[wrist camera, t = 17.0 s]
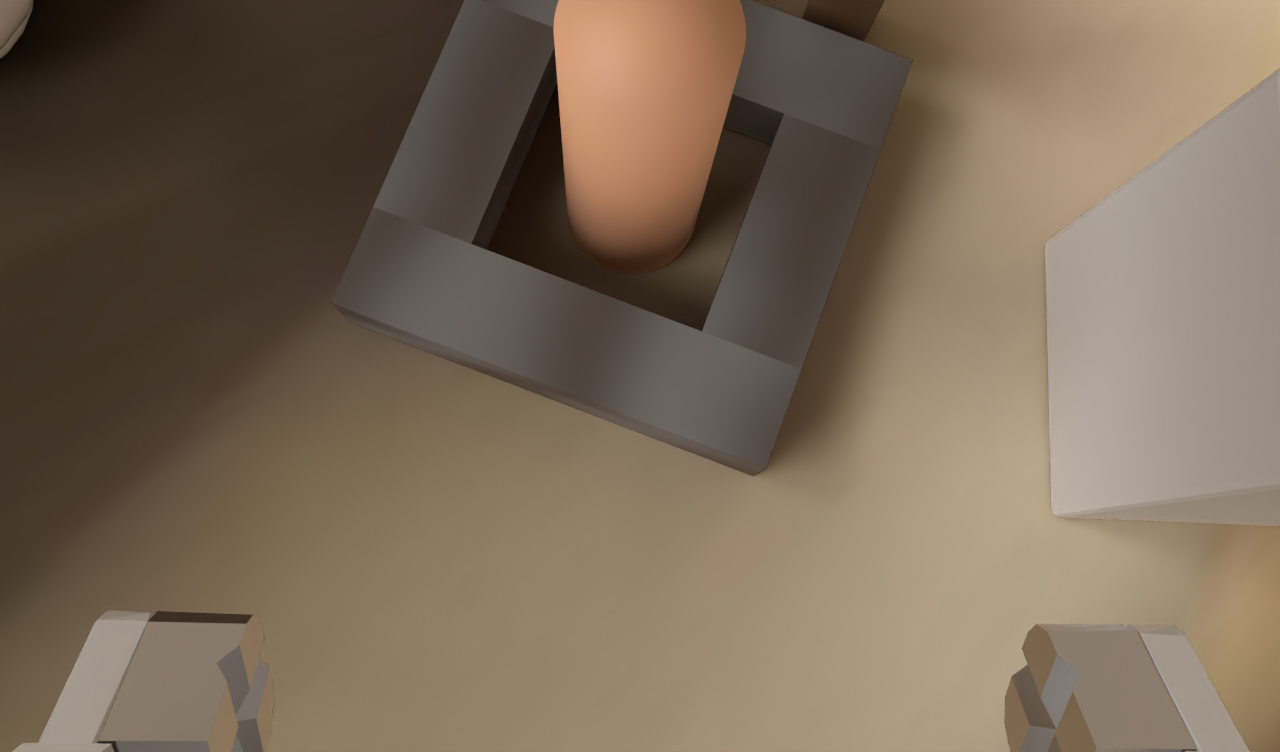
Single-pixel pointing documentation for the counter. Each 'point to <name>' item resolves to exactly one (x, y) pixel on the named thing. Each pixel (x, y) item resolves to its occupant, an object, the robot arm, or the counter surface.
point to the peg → (642, 119)
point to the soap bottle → (1173, 333)
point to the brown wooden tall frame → (591, 321)
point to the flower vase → (13, 22)
